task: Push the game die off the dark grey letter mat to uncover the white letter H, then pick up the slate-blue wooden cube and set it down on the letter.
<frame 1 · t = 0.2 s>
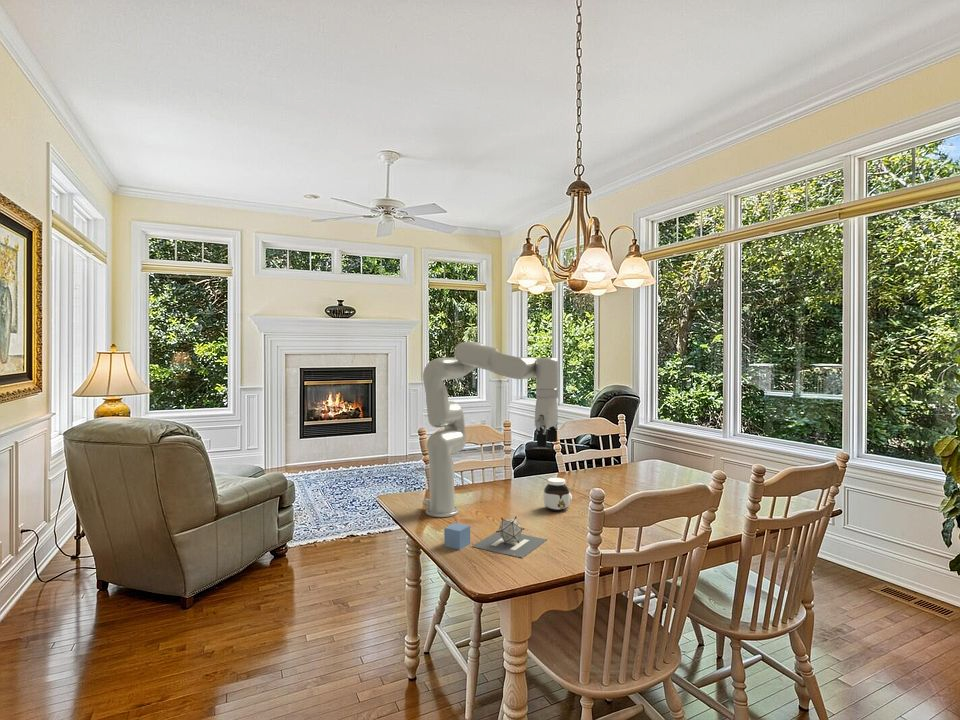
hand: (547, 443, 180), 31 cm above the table, tool pointing down, fingers open, 9 cm apart
spread jar: (558, 508, 211), on the table
letter mat: (510, 543, 172), on the table
game die: (510, 543, 172), resting on letter mat
slate cube: (457, 545, 171), on the table
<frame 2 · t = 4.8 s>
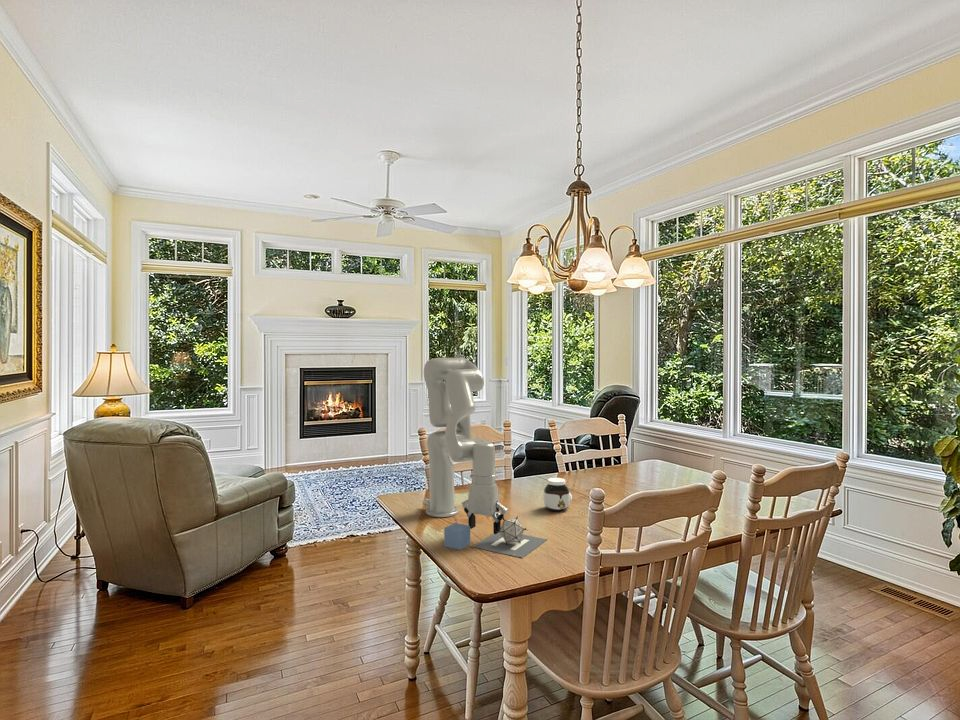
hand: (484, 530, 177), 3 cm above the table, tool pointing down, fingers open, 9 cm apart
game die: (511, 543, 172), resting on letter mat, touching gripper
everything else where it was.
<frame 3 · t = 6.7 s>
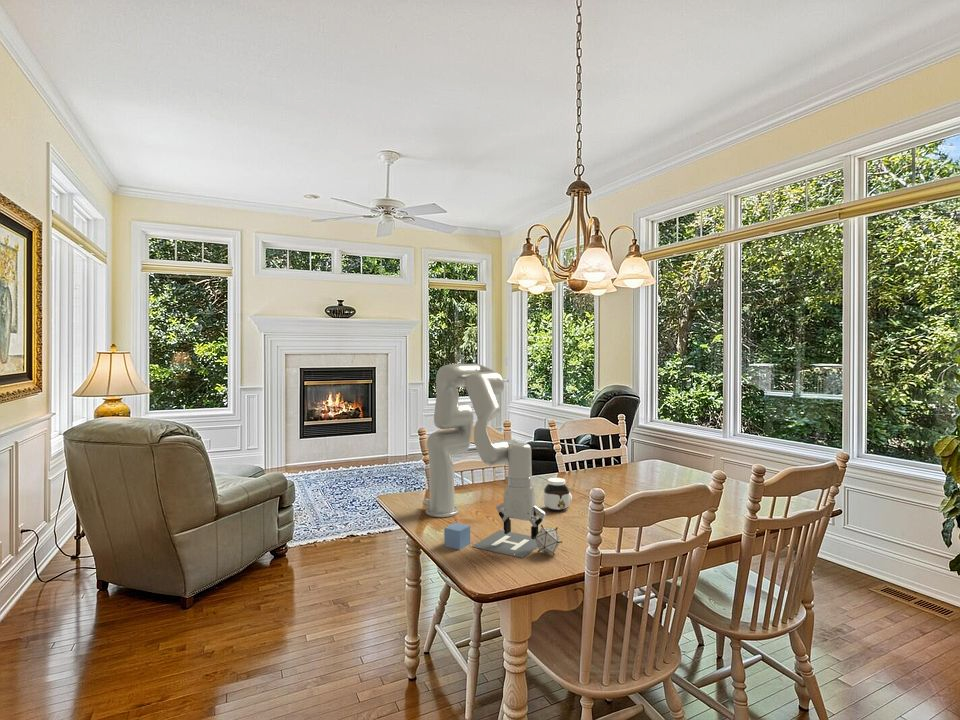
hand: (520, 535, 169), 3 cm above the table, tool pointing down, fingers open, 9 cm apart
game die: (540, 546, 166), point 1 cm above the table, touching gripper
everything else where it was.
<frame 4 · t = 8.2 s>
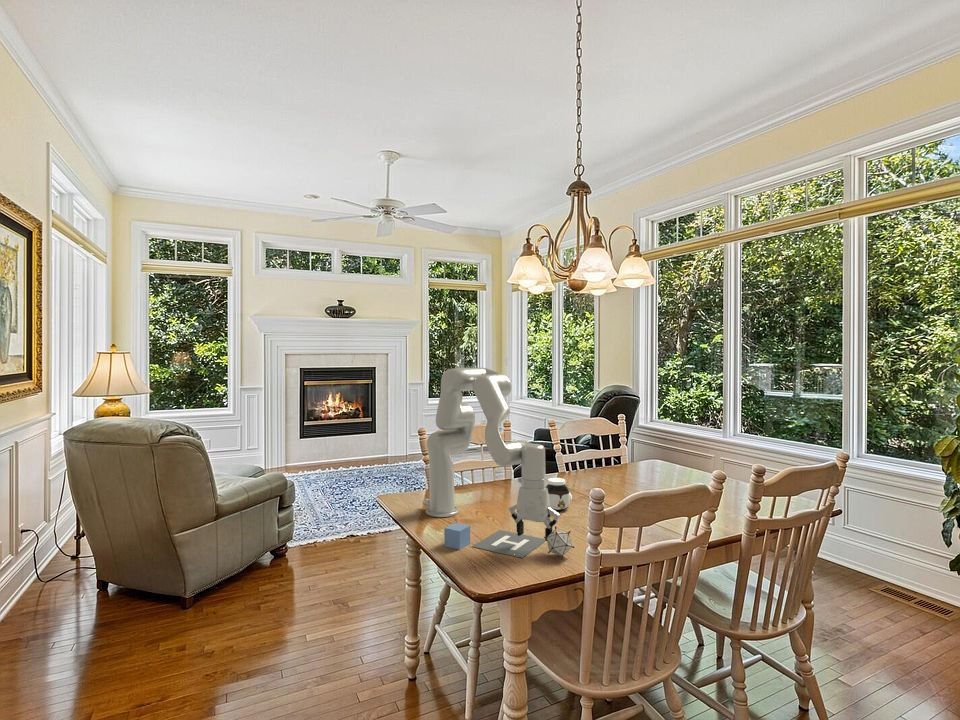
hand: (534, 537, 168), 3 cm above the table, tool pointing down, fingers open, 9 cm apart
game die: (553, 548, 164), point 1 cm above the table, touching gripper
everything else where it was.
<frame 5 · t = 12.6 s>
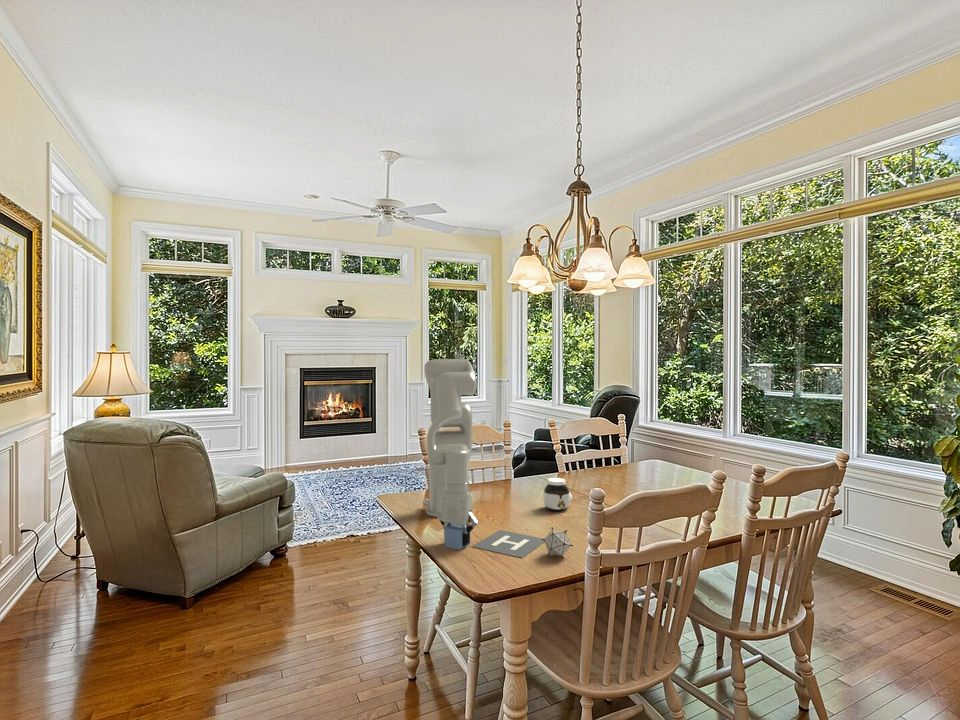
hand: (457, 542, 171), 1 cm above the table, tool pointing down, fingers closed on slate cube, 6 cm apart
game die: (552, 549, 164), point 1 cm above the table
slate cube: (457, 545, 171), on the table, touching gripper
everything else where it was.
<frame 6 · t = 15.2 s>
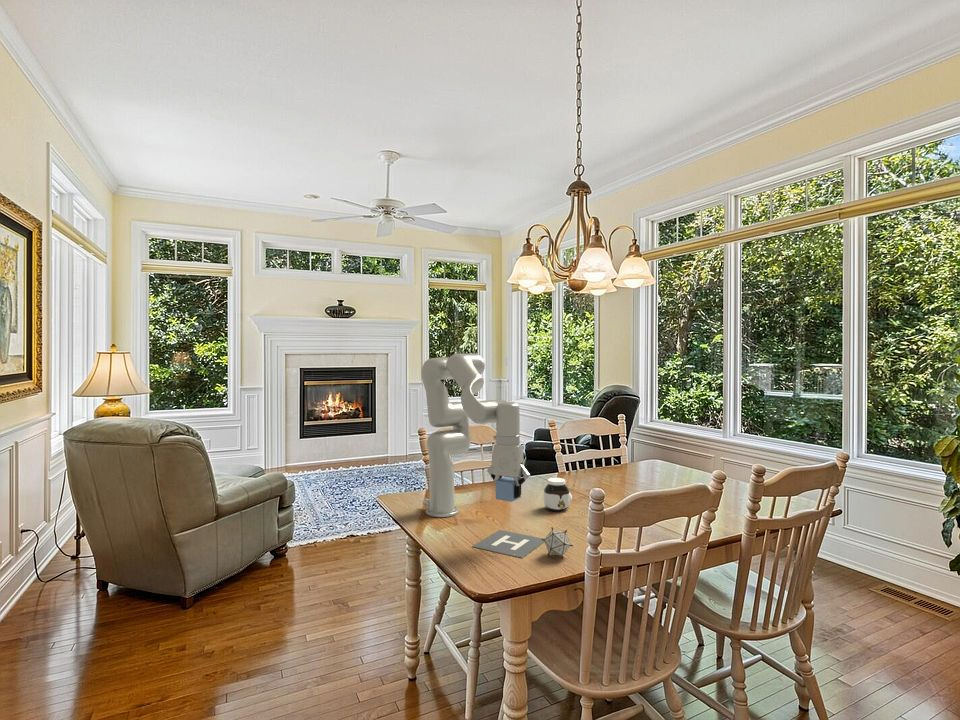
hand: (508, 495, 172), 16 cm above the table, tool pointing down, fingers closed on slate cube, 6 cm apart
slate cube: (508, 498, 172), point 15 cm above the table, touching gripper
everything else where it was.
when the fingers open (3 cm above the table, at t = 18.2 s): slate cube drops 1 cm, resting on letter mat.
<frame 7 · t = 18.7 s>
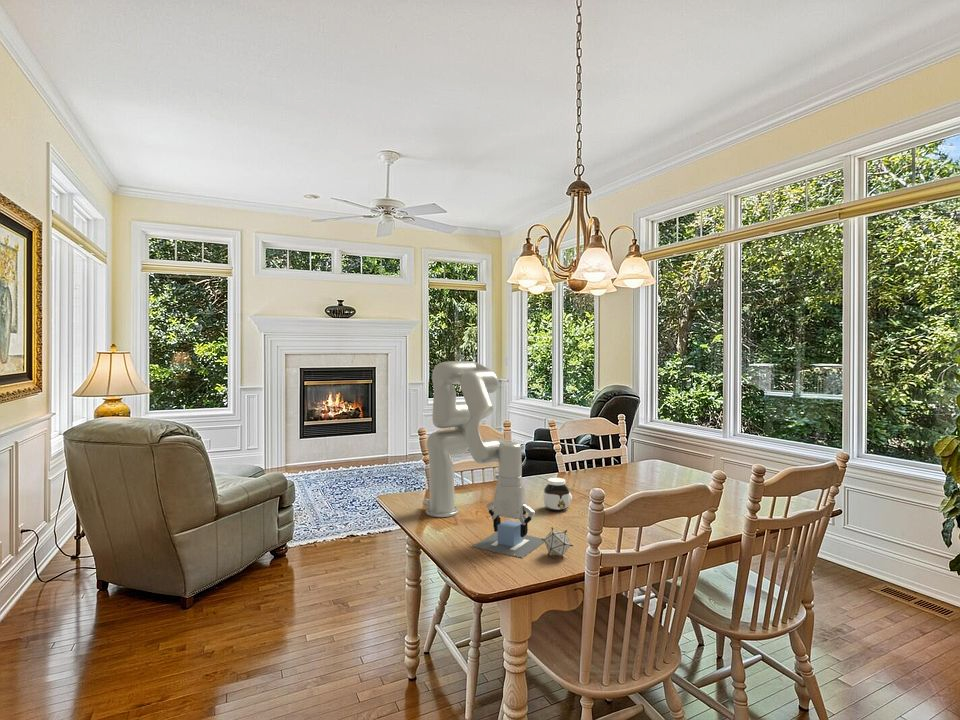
hand: (510, 533, 172), 3 cm above the table, tool pointing down, fingers open, 9 cm apart
slate cube: (510, 542, 172), resting on letter mat
everything else where it was.
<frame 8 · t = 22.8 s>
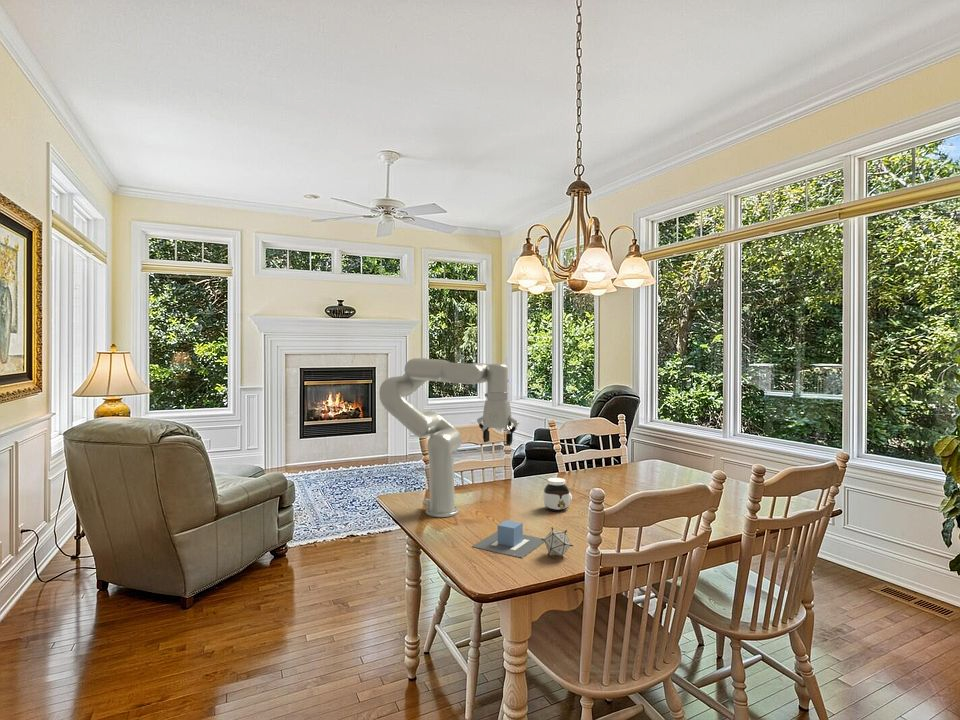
hand: (497, 442, 197), 28 cm above the table, tool pointing down, fingers open, 9 cm apart
nothing on the table moved.
at the end: game die touching table; slate cube inside the target area on the letter mat (0.0 cm from its centre), point 0.3 cm above the letter mat's base; slate cube tilted 0° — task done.
